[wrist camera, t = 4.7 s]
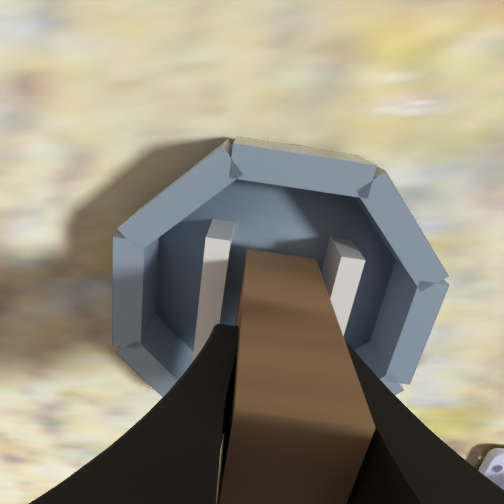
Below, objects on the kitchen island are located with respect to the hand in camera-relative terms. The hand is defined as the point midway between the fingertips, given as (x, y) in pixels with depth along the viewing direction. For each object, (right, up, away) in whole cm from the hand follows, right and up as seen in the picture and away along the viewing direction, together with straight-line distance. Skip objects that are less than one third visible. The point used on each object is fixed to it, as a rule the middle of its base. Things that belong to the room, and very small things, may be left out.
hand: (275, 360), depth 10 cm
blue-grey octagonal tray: (0, +2, +5) cm, 5 cm away
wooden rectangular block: (0, +1, +3) cm, 3 cm away
